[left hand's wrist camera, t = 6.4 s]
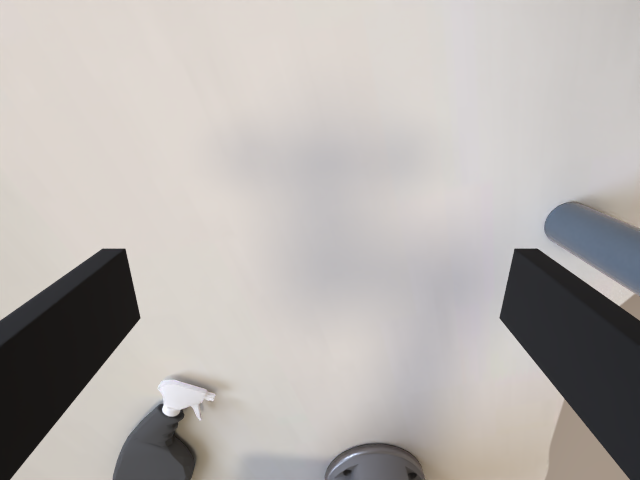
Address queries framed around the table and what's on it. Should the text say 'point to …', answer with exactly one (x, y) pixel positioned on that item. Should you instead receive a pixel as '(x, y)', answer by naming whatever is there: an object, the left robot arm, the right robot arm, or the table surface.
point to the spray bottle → (161, 437)
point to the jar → (598, 241)
